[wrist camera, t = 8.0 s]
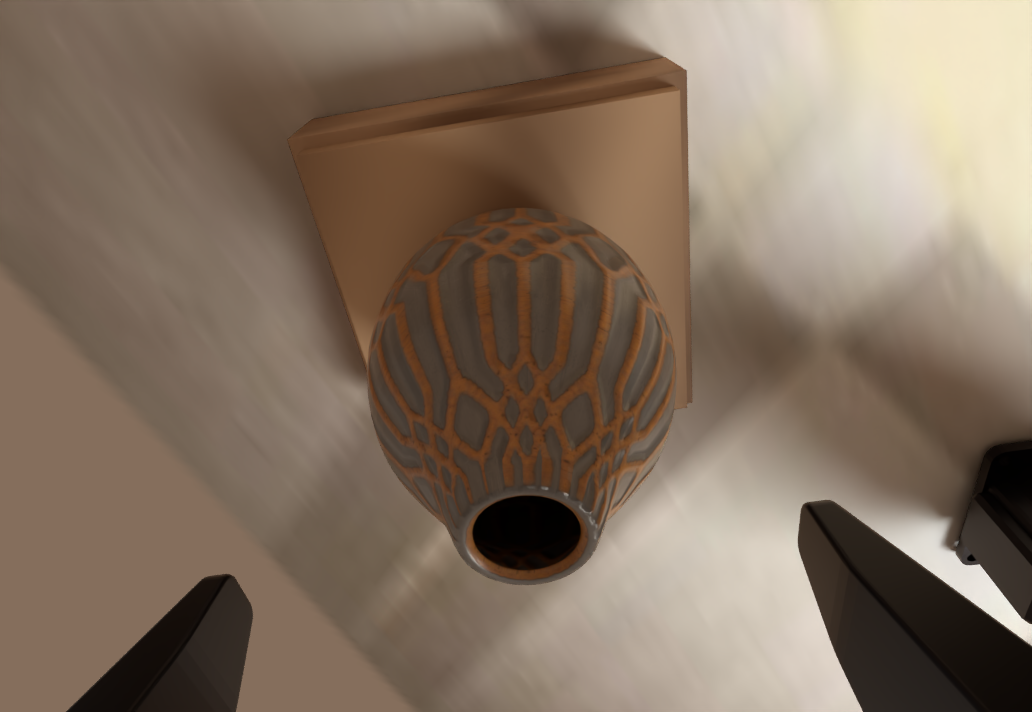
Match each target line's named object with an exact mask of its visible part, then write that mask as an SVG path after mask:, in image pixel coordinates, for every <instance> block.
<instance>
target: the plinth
mask: <svg viewBox="0 0 1032 712" xmlns="http://www.w3.org/2000/svg"><path fill="white" fill-rule="evenodd" d="M287 141H288V144H289V147H290V150H291V152H292V155H293V158H294V161H295V164H296V167H297V170H298V173H299V176H300V179H301V182H302V185H303V187H304V190H305V193H306V196H307V199H308V202H309V205H310V208H311V211H312V214H313V217H314V220H315V222H316V225H317V228H318V231H319V234H320V237H321V240H322V243H323V246H324V249H325V252H326V254H327V257H328V260H329V263H330V266H331V269H332V272H333V275H334V278H335V281H336V284H337V287H338V289H339V292H340V295H341V298H342V301H343V304H344V307H345V310H346V313H347V316H348V319H349V322H350V324H351V327H352V330H353V333H354V336H355V339H356V342H357V345H358V348H359V351H360V354H361V356H362V359H363V362H364V365H365V368H366V371H367V364H368V353H369V345H370V341H371V336H372V333H373V329H374V325H375V322H376V319H377V316H378V313H379V311H380V309H381V306H382V304H383V302H384V300H385V297H386V295H387V293H388V291H389V290H390V288H391V286H392V284H393V283H394V281H395V279H396V278H397V276H398V274H399V273H400V271H401V270H402V269H403V267H404V266H405V265H406V263H407V262H408V261H409V260H410V259H411V258H412V257H413V256H414V255H415V253H416V252H417V251H419V250H420V249H421V248H422V247H423V246H424V245H425V244H427V243H428V242H429V241H430V240H431V239H432V238H434V237H435V236H436V235H438V234H439V233H441V232H442V231H444V230H446V229H447V228H449V227H451V226H453V225H454V224H456V223H458V222H461V221H463V220H465V219H468V218H470V217H473V216H476V215H479V214H482V213H486V212H490V211H494V210H500V209H509V208H533V209H541V210H547V211H552V212H556V213H559V214H563V215H566V216H569V217H572V218H575V219H577V220H580V221H582V222H584V223H586V224H588V225H590V226H592V227H593V228H595V229H597V230H598V231H600V232H601V233H603V234H604V235H606V236H607V237H608V238H610V239H611V240H612V241H614V242H615V243H616V244H617V245H618V246H620V247H621V248H622V249H623V250H624V251H625V252H626V253H627V254H628V255H629V256H630V257H631V258H632V259H633V261H634V262H635V263H636V264H637V265H638V267H639V268H640V270H641V271H642V273H643V274H644V275H645V277H646V278H647V280H648V281H649V283H650V285H651V286H652V288H653V290H654V292H655V294H656V295H657V297H658V299H659V301H660V304H661V306H662V308H663V310H664V313H665V316H666V319H667V321H668V324H669V327H670V330H671V334H672V338H673V343H674V350H675V357H676V370H677V384H676V398H675V406H674V409H679V408H687V403H692V359H691V301H690V244H689V186H688V128H687V71H686V70H685V69H683V68H682V67H680V66H678V65H677V64H675V63H674V62H672V61H671V60H669V59H667V58H666V57H665V58H659V59H653V60H648V61H642V62H636V63H631V64H625V65H619V66H613V67H608V68H602V69H596V70H591V71H585V72H579V73H573V74H568V75H562V76H556V77H551V78H545V79H539V80H533V81H528V82H522V83H516V84H511V85H505V86H499V87H494V88H488V89H482V90H476V91H471V92H465V93H459V94H454V95H448V96H442V97H436V98H431V99H425V100H419V101H414V102H408V103H402V104H397V105H391V106H385V107H379V108H374V109H368V110H362V111H357V112H351V113H345V114H339V115H334V116H328V117H322V118H317V119H312V120H311V121H309V122H308V123H307V124H306V125H304V126H303V127H302V128H301V129H300V130H298V131H297V132H296V133H295V134H294V135H292V136H291V137H290V138H289V139H287Z"/></svg>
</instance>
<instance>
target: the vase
mask: <svg viewBox="0 0 1032 712" xmlns="http://www.w3.org/2000/svg"><path fill="white" fill-rule="evenodd" d="M367 384H368V398H369V404H370V410H371V416H372V420H373V424H374V428H375V431H376V435H377V438H378V441H379V443H380V446H381V448H382V450H383V453H384V455H385V457H386V459H387V461H388V463H389V465H390V466H391V468H392V470H393V471H394V473H395V474H396V476H397V477H398V478H399V480H400V481H401V483H402V484H403V485H404V487H405V488H406V489H407V490H408V491H409V492H410V493H411V494H412V495H413V497H414V498H415V499H416V500H417V501H418V502H419V503H420V504H421V505H423V506H424V507H425V508H426V509H427V510H428V511H429V512H430V513H431V514H432V515H434V516H435V517H436V518H437V519H438V520H439V521H440V522H442V523H443V524H444V525H445V526H446V528H447V530H448V532H449V534H450V536H451V538H452V541H453V543H454V545H455V547H456V549H457V551H458V553H459V554H460V556H461V557H462V559H463V560H464V561H465V562H466V563H467V564H468V565H469V566H470V567H471V568H472V569H474V570H475V571H477V572H478V573H480V574H481V575H483V576H485V577H488V578H490V579H493V580H495V581H499V582H503V583H507V584H514V585H536V584H543V583H548V582H552V581H555V580H558V579H561V578H563V577H566V576H568V575H570V574H571V573H573V572H575V571H576V570H578V569H579V568H580V567H582V566H583V565H584V564H585V563H586V562H587V561H588V560H589V558H590V557H591V556H592V554H593V553H594V551H595V549H596V548H597V545H598V543H599V541H600V538H601V535H602V533H603V530H604V527H605V525H606V522H607V521H608V520H609V519H610V518H611V517H612V516H613V515H614V514H615V513H616V512H617V511H618V510H619V509H620V508H621V507H622V506H623V505H624V504H625V503H626V502H627V501H628V500H629V499H630V498H631V497H632V495H633V494H634V493H635V492H636V491H637V490H638V489H639V487H640V486H641V485H642V484H643V482H644V481H645V480H646V478H647V477H648V475H649V474H650V472H651V471H652V469H653V467H654V466H655V464H656V462H657V460H658V459H659V457H660V454H661V452H662V450H663V447H664V445H665V442H666V439H667V436H668V434H669V430H670V426H671V422H672V417H673V412H674V406H675V398H676V384H677V370H676V357H675V350H674V343H673V338H672V334H671V330H670V327H669V324H668V321H667V319H666V316H665V313H664V310H663V308H662V306H661V304H660V301H659V299H658V297H657V295H656V294H655V292H654V290H653V288H652V286H651V285H650V283H649V281H648V280H647V278H646V277H645V275H644V274H643V273H642V271H641V270H640V268H639V267H638V265H637V264H636V263H635V262H634V261H633V259H632V258H631V257H630V256H629V255H628V254H627V253H626V252H625V251H624V250H623V249H622V248H621V247H620V246H618V245H617V244H616V243H615V242H614V241H612V240H611V239H610V238H608V237H607V236H606V235H604V234H603V233H601V232H600V231H598V230H597V229H595V228H593V227H592V226H590V225H588V224H586V223H584V222H582V221H580V220H577V219H575V218H572V217H569V216H566V215H563V214H559V213H556V212H552V211H547V210H541V209H533V208H509V209H500V210H494V211H490V212H486V213H482V214H479V215H476V216H473V217H470V218H468V219H465V220H463V221H461V222H458V223H456V224H454V225H453V226H451V227H449V228H447V229H446V230H444V231H442V232H441V233H439V234H438V235H436V236H435V237H434V238H432V239H431V240H430V241H429V242H428V243H427V244H425V245H424V246H423V247H422V248H421V249H420V250H419V251H417V252H416V253H415V255H414V256H413V257H412V258H411V259H410V260H409V261H408V262H407V263H406V265H405V266H404V267H403V269H402V270H401V271H400V273H399V274H398V276H397V278H396V279H395V281H394V283H393V284H392V286H391V288H390V290H389V291H388V293H387V295H386V297H385V300H384V302H383V304H382V306H381V309H380V311H379V313H378V316H377V319H376V322H375V325H374V329H373V333H372V336H371V341H370V345H369V353H368V364H367Z"/></svg>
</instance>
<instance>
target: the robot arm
mask: <svg viewBox="0 0 1032 712" xmlns="http://www.w3.org/2000/svg"><path fill="white" fill-rule="evenodd" d="M798 548H799V552H800V556H801V559H802V561H803V564H804V567H805V570H806V573H807V576H808V578H809V581H810V584H811V587H812V590H813V593H814V595H815V598H816V601H817V604H818V607H819V610H820V612H821V615H822V618H823V621H824V624H825V627H826V629H827V632H828V635H829V638H830V640H831V643H832V646H833V648H834V651H835V653H836V656H837V658H838V660H839V662H840V664H841V667H842V669H843V671H844V673H845V675H846V677H847V679H848V681H849V683H850V685H851V688H852V690H853V692H854V694H855V696H856V698H857V700H858V702H859V704H860V706H861V708H862V710H863V712H1032V646H1031V645H1030V644H1028V643H1027V642H1026V641H1024V640H1023V639H1022V638H1020V637H1019V636H1017V635H1016V634H1015V633H1013V632H1012V631H1011V630H1009V629H1008V628H1007V627H1005V626H1004V625H1002V624H1001V623H1000V622H998V621H997V620H996V619H994V618H993V617H991V616H990V615H989V614H987V613H986V612H985V611H983V610H982V609H981V608H979V607H978V606H976V605H975V604H974V603H972V602H971V601H970V600H968V599H967V598H965V597H964V596H963V595H961V594H960V593H959V592H957V591H956V590H955V589H953V588H952V587H950V586H949V585H948V584H946V583H945V582H944V581H942V580H941V579H939V578H938V577H937V576H935V575H934V574H933V573H931V572H930V571H929V570H927V569H926V568H924V567H923V566H922V565H920V564H919V563H918V562H916V561H915V560H913V559H912V558H911V557H909V556H908V555H907V554H905V553H904V552H903V551H901V550H900V549H898V548H897V547H896V546H894V545H893V544H892V543H890V542H889V541H887V540H886V539H885V538H883V537H882V536H881V535H879V534H878V533H877V532H875V531H874V530H872V529H871V528H870V527H868V526H867V525H866V524H864V523H863V522H861V521H860V520H859V519H857V518H856V517H855V516H853V515H852V514H851V513H849V512H848V511H846V510H845V509H844V508H842V507H841V506H840V505H838V504H837V503H835V502H833V501H831V500H822V501H814V502H807V503H805V504H803V506H802V508H801V514H800V523H799V533H798ZM956 555H957V557H958V558H959V559H960V561H961V562H962V563H963V564H965V565H977V564H980V565H981V566H982V568H983V569H984V570H985V572H986V573H987V574H988V575H989V577H990V578H991V579H992V581H993V582H994V583H995V584H996V586H997V587H998V588H999V590H1000V591H1001V592H1002V593H1003V595H1004V596H1005V597H1006V599H1007V600H1008V601H1009V602H1010V604H1011V605H1012V606H1013V608H1014V609H1015V610H1016V611H1017V613H1018V614H1019V615H1020V617H1021V618H1022V619H1024V620H1025V621H1026V622H1028V623H1029V624H1032V441H1027V442H1019V443H1011V444H1003V445H998V446H995V447H993V448H991V449H990V450H989V451H988V452H986V454H985V456H984V459H983V463H982V466H981V469H980V473H979V476H978V479H977V483H976V486H975V489H974V492H973V496H972V499H971V502H970V506H969V509H968V512H967V516H966V519H965V522H964V526H963V529H962V532H961V536H960V539H959V542H958V545H957V549H956ZM252 619H253V613H252V607H251V604H250V602H249V600H248V599H247V597H246V595H245V594H244V592H243V590H242V589H241V587H240V585H239V584H238V582H237V580H236V579H235V577H234V576H232V575H230V574H222V575H214V576H208V577H205V578H204V579H202V580H201V581H200V582H199V583H198V584H197V585H196V586H195V587H194V588H192V589H191V590H190V591H189V592H188V593H187V594H186V595H185V596H184V597H183V598H182V599H181V600H180V601H179V602H178V603H177V604H176V605H175V606H174V607H173V608H172V609H171V610H170V611H169V612H168V613H167V614H166V615H165V616H164V617H163V618H162V619H161V620H160V621H159V622H158V623H157V624H156V625H155V626H154V627H152V628H151V630H149V631H148V632H147V633H146V635H144V636H143V637H142V638H141V639H140V640H139V641H138V642H137V643H136V644H135V645H134V646H133V647H132V648H131V649H130V650H129V651H128V652H127V653H126V654H125V655H124V656H123V657H122V658H121V659H120V660H119V661H118V662H117V663H116V664H115V665H114V666H112V667H111V668H110V669H109V670H108V671H107V672H106V674H104V675H103V676H102V677H101V678H100V679H99V680H98V681H97V682H96V683H95V684H94V685H93V686H92V687H91V688H90V689H89V690H88V691H87V692H86V693H85V694H84V695H83V696H82V697H81V698H80V699H79V700H78V701H77V702H76V703H75V704H74V705H73V706H71V707H70V708H69V709H68V710H67V711H66V712H236V708H237V703H238V698H239V692H240V687H241V681H242V675H243V670H244V665H245V659H246V653H247V648H248V642H249V636H250V631H251V625H252Z"/></svg>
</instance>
